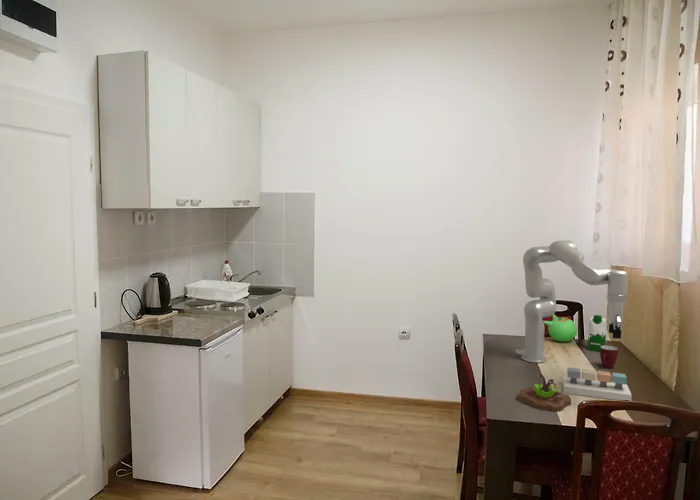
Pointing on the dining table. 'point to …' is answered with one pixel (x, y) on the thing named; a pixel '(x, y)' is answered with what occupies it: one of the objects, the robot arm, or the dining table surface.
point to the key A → (573, 374)
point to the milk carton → (596, 333)
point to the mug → (608, 356)
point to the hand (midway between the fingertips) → (614, 335)
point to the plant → (544, 396)
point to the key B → (588, 376)
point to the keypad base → (596, 389)
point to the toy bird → (561, 328)
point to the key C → (603, 378)
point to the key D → (619, 380)
